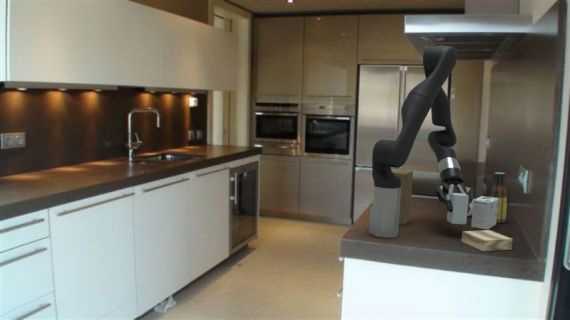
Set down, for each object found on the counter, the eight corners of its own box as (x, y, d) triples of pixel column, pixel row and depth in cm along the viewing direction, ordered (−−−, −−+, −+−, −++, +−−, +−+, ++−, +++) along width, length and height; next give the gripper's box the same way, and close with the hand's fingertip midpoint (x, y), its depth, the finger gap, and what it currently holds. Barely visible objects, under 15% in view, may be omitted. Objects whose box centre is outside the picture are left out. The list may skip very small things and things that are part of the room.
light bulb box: (479, 222, 196) (481, 195, 195) (496, 225, 192) (499, 197, 191) (470, 227, 188) (472, 199, 186) (488, 230, 184) (491, 201, 182)
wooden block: (410, 220, 194) (413, 170, 192) (403, 226, 186) (406, 173, 183) (385, 217, 199) (388, 168, 197) (377, 222, 191) (380, 171, 188)
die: (466, 213, 213) (454, 196, 212) (484, 206, 208) (472, 188, 207) (463, 223, 207) (451, 205, 206) (482, 217, 202) (469, 198, 201)
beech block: (483, 251, 156) (483, 240, 156) (461, 241, 167) (462, 231, 167) (511, 249, 160) (512, 238, 159) (489, 239, 170) (489, 230, 170)
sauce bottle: (501, 219, 201) (505, 171, 198) (508, 223, 194) (512, 174, 192) (485, 219, 200) (489, 171, 198) (492, 223, 194) (496, 173, 192)
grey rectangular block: (451, 223, 171) (454, 195, 170) (446, 220, 176) (449, 192, 175) (466, 224, 171) (468, 195, 170) (460, 220, 176) (463, 193, 175)
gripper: (433, 165, 178) (442, 205, 168) (472, 167, 179) (483, 206, 168) (428, 177, 184) (435, 216, 174) (465, 179, 185) (476, 218, 174)
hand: (459, 211), depth 171 cm, fingers closed on grey rectangular block, 5 cm apart
